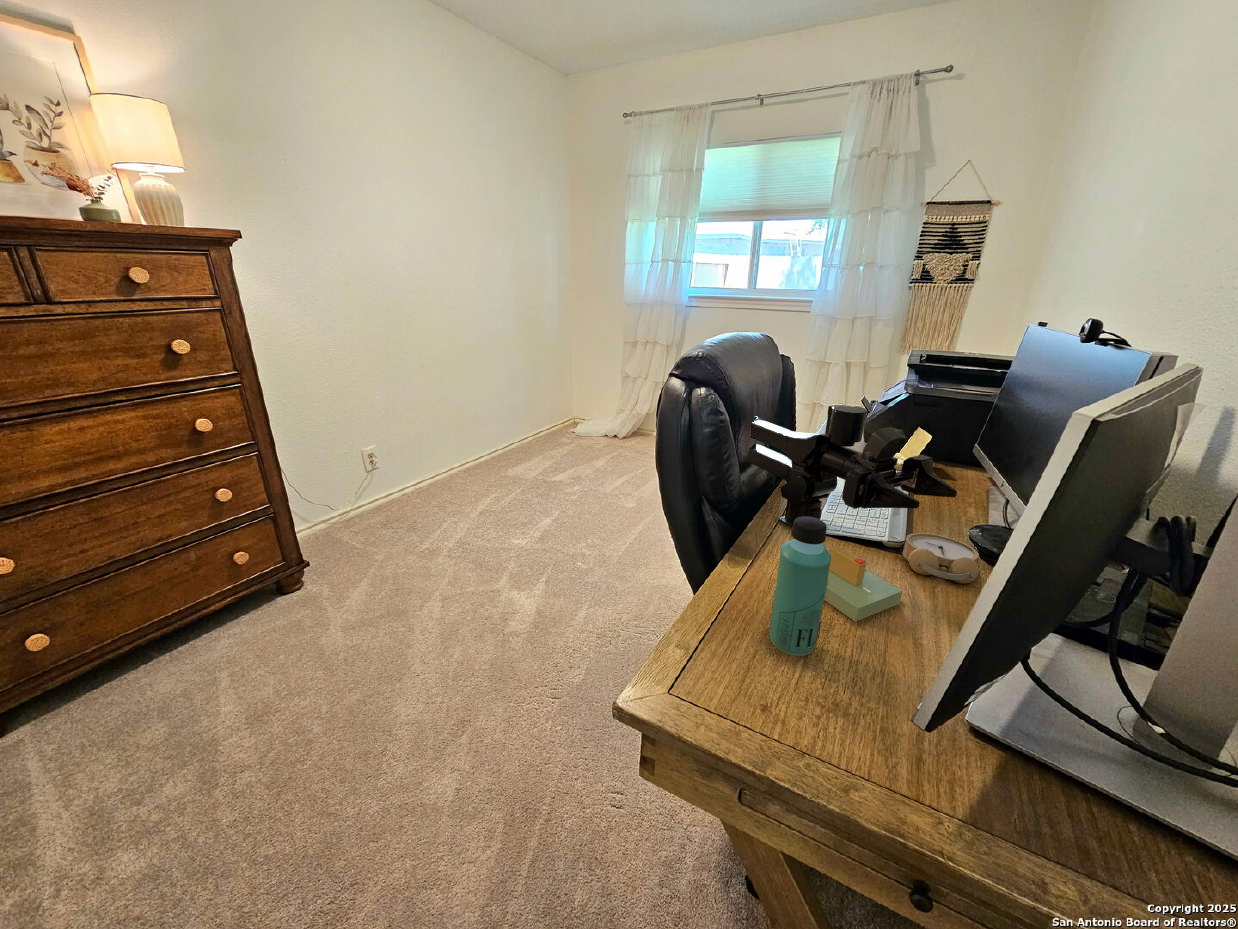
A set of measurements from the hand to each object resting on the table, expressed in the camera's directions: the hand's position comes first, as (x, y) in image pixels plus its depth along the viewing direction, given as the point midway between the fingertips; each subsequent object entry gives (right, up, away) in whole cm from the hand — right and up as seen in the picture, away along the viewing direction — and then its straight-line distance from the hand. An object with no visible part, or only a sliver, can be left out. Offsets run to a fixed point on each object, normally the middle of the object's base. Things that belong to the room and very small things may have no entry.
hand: (937, 499), depth 75 cm
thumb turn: (-12, -13, +5) cm, 19 cm away
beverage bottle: (-25, -21, -7) cm, 34 cm away
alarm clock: (+8, -13, +12) cm, 20 cm away
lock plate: (-12, -15, +6) cm, 21 cm away
